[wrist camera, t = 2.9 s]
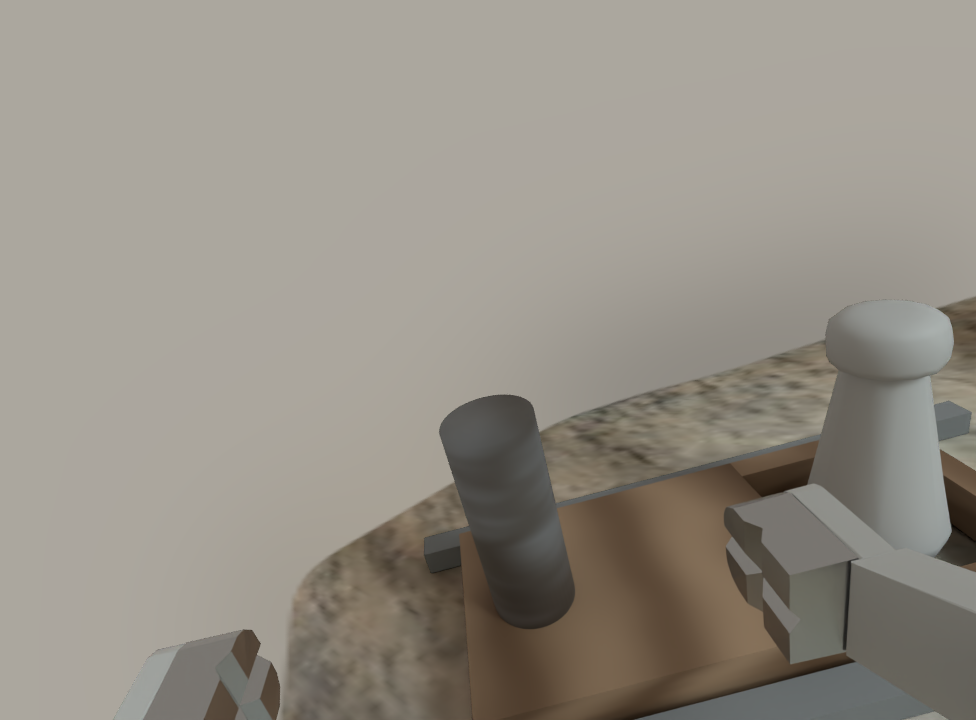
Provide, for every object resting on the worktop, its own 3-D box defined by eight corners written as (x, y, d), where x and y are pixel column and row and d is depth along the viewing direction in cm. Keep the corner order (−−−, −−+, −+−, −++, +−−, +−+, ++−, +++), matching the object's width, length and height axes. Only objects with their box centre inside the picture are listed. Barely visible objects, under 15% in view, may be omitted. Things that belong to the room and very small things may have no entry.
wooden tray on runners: (487, 763, 22) (395, 531, 17) (469, 565, 32) (409, 384, 27) (1104, 603, 22) (1194, 323, 17) (889, 455, 32) (906, 254, 27)
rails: (431, 842, 20) (419, 821, 19) (430, 555, 34) (424, 537, 33) (1303, 614, 20) (1318, 586, 19) (946, 420, 34) (949, 400, 33)
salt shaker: (911, 618, 23) (942, 353, 18) (781, 551, 28) (777, 325, 23) (966, 544, 26) (1008, 294, 21) (839, 494, 30) (847, 280, 25)
